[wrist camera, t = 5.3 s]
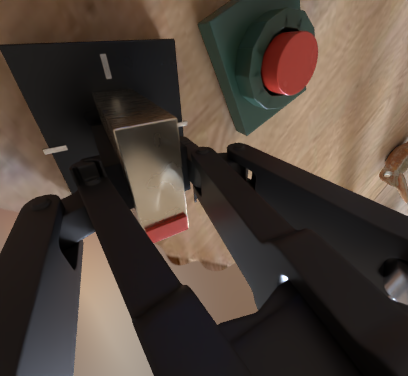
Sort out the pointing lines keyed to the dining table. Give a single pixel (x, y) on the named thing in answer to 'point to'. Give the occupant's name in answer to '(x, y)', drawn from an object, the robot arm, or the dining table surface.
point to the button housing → (249, 54)
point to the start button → (289, 62)
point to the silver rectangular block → (147, 159)
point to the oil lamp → (397, 170)
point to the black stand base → (89, 87)
